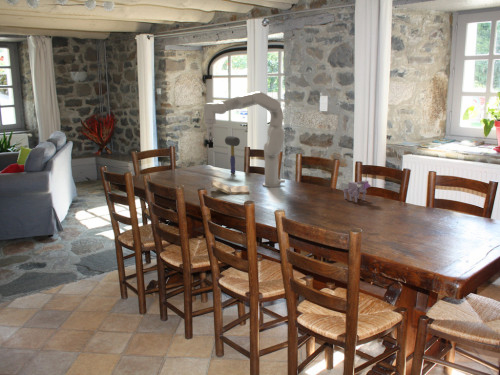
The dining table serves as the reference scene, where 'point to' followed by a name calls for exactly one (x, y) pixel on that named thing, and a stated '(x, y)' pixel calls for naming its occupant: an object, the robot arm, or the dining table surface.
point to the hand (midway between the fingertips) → (210, 146)
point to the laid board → (239, 190)
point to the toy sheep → (358, 187)
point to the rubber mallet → (232, 150)
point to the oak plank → (220, 186)
